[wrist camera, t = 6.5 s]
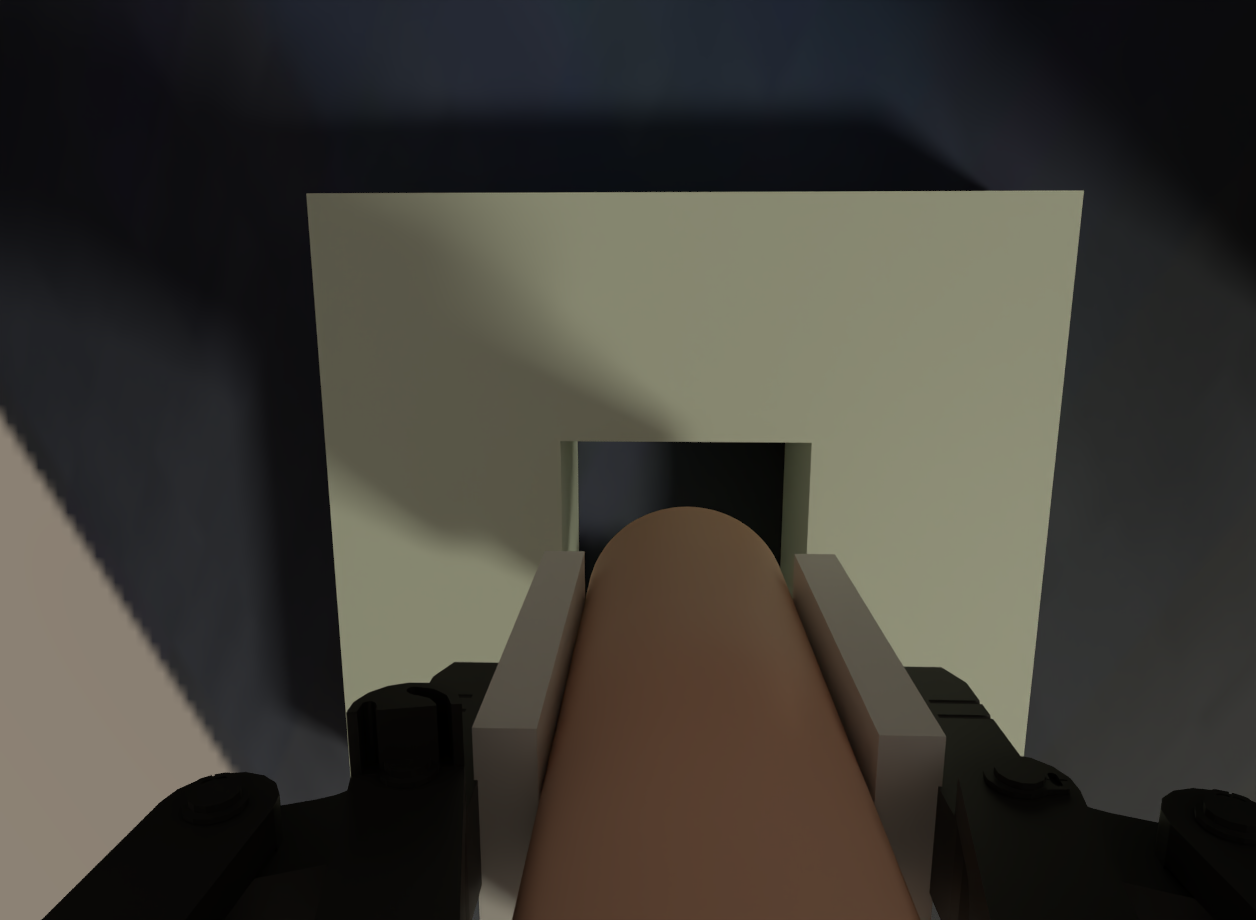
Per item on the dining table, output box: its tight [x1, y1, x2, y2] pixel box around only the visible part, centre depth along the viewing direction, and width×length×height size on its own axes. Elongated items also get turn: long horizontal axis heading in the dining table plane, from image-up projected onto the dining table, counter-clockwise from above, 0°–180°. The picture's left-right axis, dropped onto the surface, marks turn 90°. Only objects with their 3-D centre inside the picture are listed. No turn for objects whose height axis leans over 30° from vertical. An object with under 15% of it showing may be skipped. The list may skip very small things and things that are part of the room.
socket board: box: [306, 191, 1084, 775], centre depth 22 cm, size 16×16×4 cm
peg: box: [512, 507, 920, 920], centre depth 12 cm, size 4×4×12 cm
